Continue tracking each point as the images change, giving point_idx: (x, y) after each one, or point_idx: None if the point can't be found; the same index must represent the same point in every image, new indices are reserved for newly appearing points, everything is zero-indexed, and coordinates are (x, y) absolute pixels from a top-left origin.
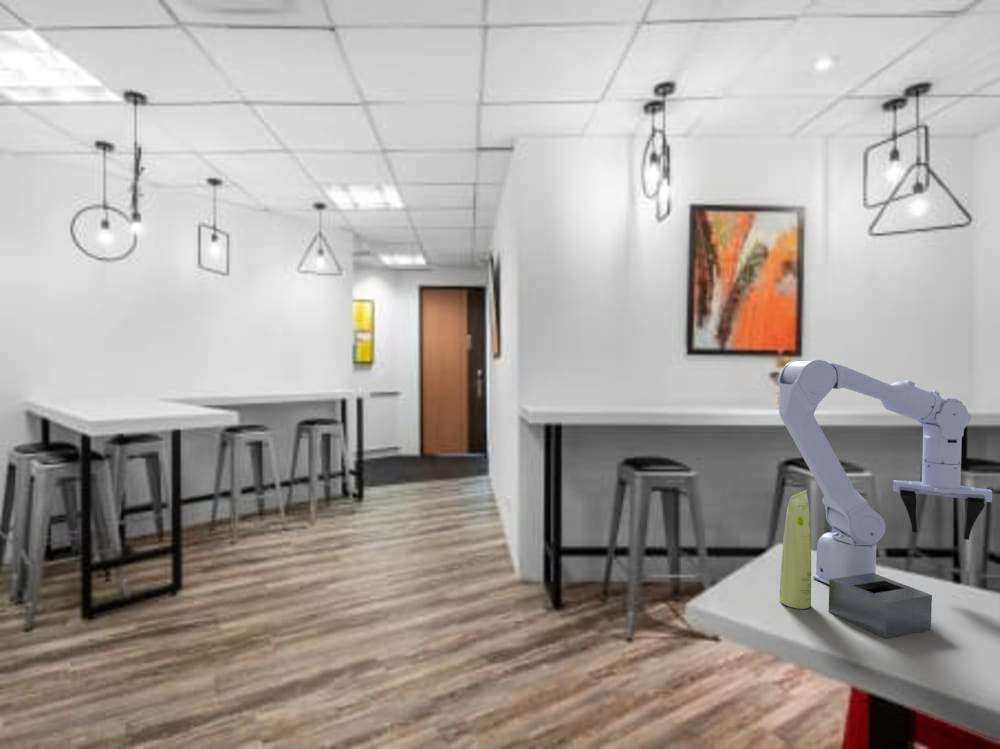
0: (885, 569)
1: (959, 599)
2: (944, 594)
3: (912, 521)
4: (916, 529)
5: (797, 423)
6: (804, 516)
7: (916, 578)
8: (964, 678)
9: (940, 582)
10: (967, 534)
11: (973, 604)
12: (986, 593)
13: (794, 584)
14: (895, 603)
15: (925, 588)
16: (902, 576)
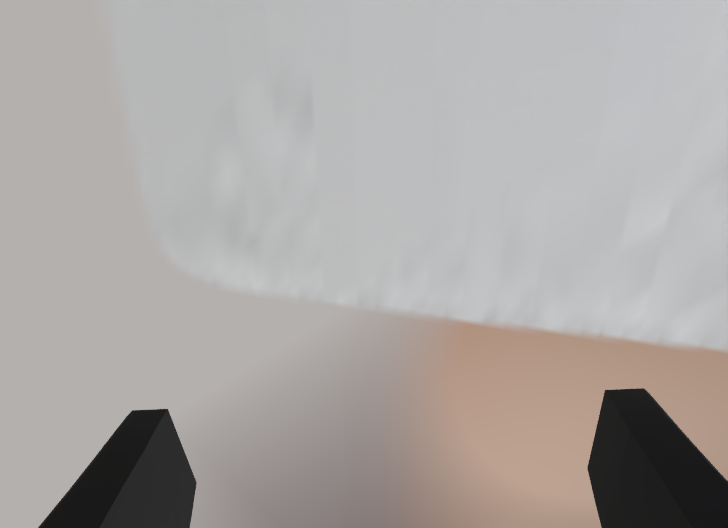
0: (614, 324)
1: (270, 68)
2: (347, 105)
3: (717, 490)
4: (622, 415)
5: None
6: None
7: (477, 282)
8: None
9: (370, 292)
10: (116, 452)
11: (195, 25)
12: (176, 264)
13: None
14: None
15: (442, 145)
16: (544, 270)
